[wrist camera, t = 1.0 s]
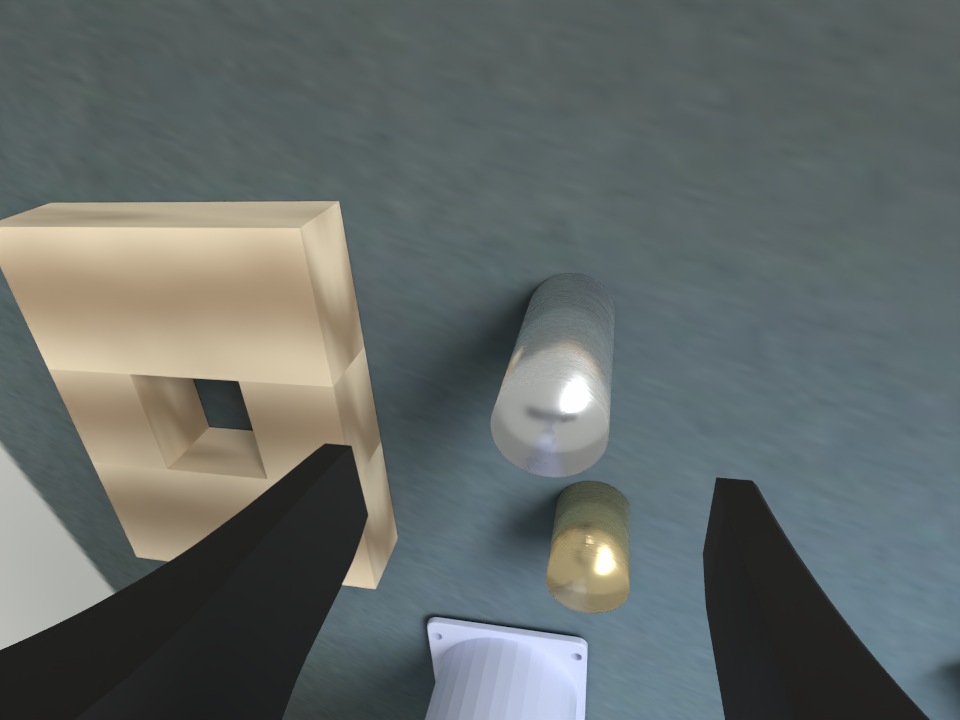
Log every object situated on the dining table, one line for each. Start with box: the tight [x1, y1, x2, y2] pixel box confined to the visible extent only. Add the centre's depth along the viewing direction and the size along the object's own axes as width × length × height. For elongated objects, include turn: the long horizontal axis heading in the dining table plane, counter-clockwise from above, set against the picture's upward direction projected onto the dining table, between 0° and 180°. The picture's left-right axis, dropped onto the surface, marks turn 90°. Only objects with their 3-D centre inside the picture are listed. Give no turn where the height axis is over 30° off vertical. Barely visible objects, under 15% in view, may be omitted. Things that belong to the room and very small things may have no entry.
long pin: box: [491, 273, 615, 477], centre depth 19 cm, size 3×3×7 cm
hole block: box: [0, 201, 398, 589], centre depth 25 cm, size 16×12×3 cm
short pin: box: [546, 481, 630, 613], centre depth 24 cm, size 3×3×4 cm
